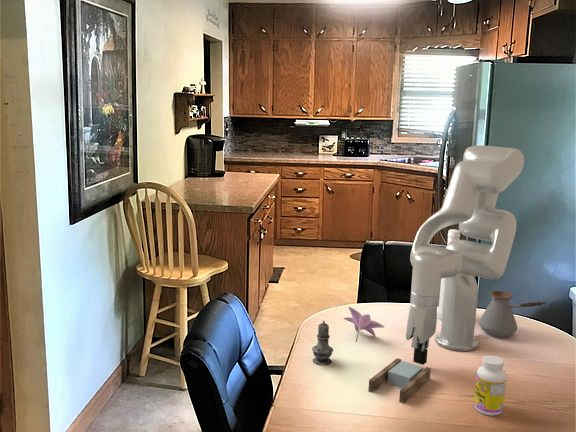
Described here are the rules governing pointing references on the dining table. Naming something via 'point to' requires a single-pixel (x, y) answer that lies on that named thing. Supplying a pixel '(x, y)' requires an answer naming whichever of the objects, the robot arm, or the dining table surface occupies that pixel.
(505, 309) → the coffee pot
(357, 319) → the lily
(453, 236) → the bottle
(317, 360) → the salt shaker
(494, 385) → the supplement bottle
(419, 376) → the walnut chute
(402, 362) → the slate block
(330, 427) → the dining table surface
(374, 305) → the dining table surface
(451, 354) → the dining table surface
